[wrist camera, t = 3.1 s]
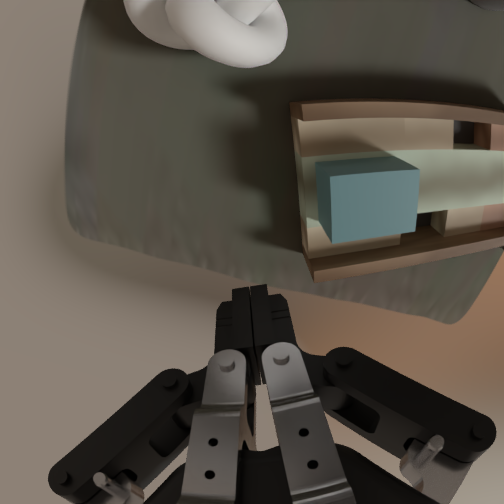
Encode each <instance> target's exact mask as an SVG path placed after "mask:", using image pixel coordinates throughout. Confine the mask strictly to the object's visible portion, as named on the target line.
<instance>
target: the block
mask: <svg viewBox="0 0 504 504" xmlns="http://www.w3.org/2000/svg"><path fill="white" fill-rule="evenodd" d="M315 170H316V184H317V201H318V221H319V223H320V224H321V226H322V228H323V229H324V231H325V233H326V235H327V236H328V238H329V240H330V241H331V243H332V244H335V243H342V242H349V241H355V240H362V239H369V238H375V237H382V236H389V235H395V234H402V233H408V232H415V228H416V219H417V208H418V196H419V180H420V169H418V168H417V167H415V166H413V165H411V164H409V163H407V162H405V161H403V160H401V159H399V158H397V157H395V156H390V157H373V158H359V159H346V160H335V161H324V162H315Z"/></svg>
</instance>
